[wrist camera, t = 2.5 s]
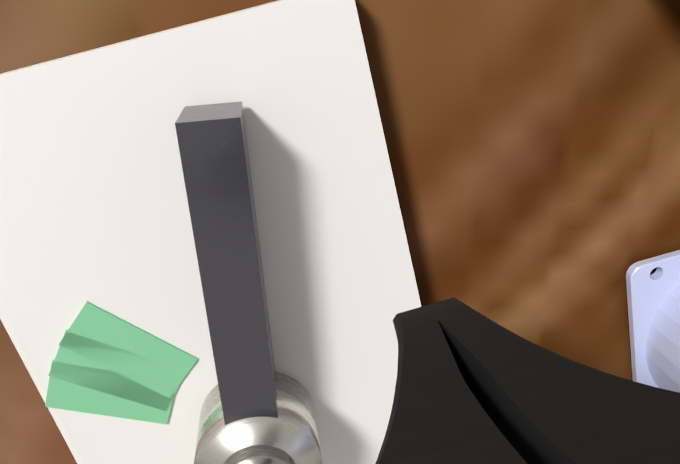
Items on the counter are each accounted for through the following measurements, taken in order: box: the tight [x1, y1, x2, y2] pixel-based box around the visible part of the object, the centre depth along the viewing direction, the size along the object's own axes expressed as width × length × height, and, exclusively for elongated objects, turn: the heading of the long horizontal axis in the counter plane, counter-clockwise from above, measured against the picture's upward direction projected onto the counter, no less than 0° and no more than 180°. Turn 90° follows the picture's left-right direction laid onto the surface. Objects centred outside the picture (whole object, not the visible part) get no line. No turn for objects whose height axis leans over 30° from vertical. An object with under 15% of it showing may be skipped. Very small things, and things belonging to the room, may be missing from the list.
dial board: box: [0, 0, 421, 464], centre depth 22 cm, size 13×26×2 cm, turn 14°
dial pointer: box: [175, 102, 322, 464], centre depth 18 cm, size 13×4×3 cm, turn 4°
